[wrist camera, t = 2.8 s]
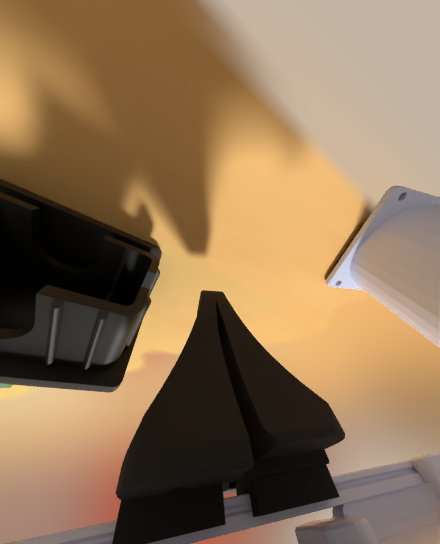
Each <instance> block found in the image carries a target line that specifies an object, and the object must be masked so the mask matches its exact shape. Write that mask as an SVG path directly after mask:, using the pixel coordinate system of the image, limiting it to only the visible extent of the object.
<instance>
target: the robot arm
mask: <svg viewBox="0 0 440 544" xmlns="http://www.w3.org/2000/svg"><path fill="white" fill-rule="evenodd" d="M326 284H327V285H328V286H329V287H337V288H347V289H357V290H364V291H366V292H367V293H368V294H370V295H371V296H372V297H374V298H375V299H376V300H378V301H379V302H380V303H381V304H383V305H384V306H385V307H387V308H388V309H389V310H391V311H392V312H393V313H395V314H396V315H397V316H399V317H400V318H401V319H402V320H404V321H405V322H406V323H408V324H409V325H410V326H412V327H413V328H414V329H415V330H417V331H418V332H419V333H421V334H422V335H423V336H425V337H426V338H427V339H429V340H430V341H431V342H433V343H434V344H435V345H436V346H438V347H439V348H440V197H436V196H433V195H429V194H426V193H422V192H419V191H416V190H412V189H409V188H405V187H402V186H393V187H391V188H390V189H388V190H387V191H386V193H385V194H384V195H383V197H382V198H381V200H380V201H379V203H378V204H377V206H376V207H375V209H374V210H373V212H372V213H371V215H370V216H369V218H368V219H367V221H366V222H365V223H364V225H363V226H362V228H361V229H360V231H359V232H358V234H357V235H356V237H355V238H354V240H353V241H352V243H351V244H350V246H349V247H348V249H347V250H346V251H345V253H344V254H343V256H342V257H341V259H340V260H339V262H338V263H337V265H336V266H335V268H334V269H333V271H332V272H331V274H330V275H329V277H328V278H327V279H326ZM344 438H345V433H344V431H343V429H342V427H341V425H340V424H339V422H338V420H337V418H336V416H335V415H334V413H333V411H332V409H331V408H330V406H329V404H328V403H327V402H326V401H324V400H323V399H322V398H321V397H319V396H318V395H317V394H315V393H314V392H313V391H312V390H310V389H309V388H308V387H306V386H305V385H304V384H303V383H301V382H300V381H299V380H298V379H297V378H295V377H294V376H293V375H292V374H291V373H290V372H288V371H287V370H286V369H285V368H284V367H283V366H282V365H281V364H280V363H278V361H276V359H275V358H273V357H272V356H271V355H270V354H269V353H268V352H267V351H266V350H265V349H264V347H263V346H262V345H261V344H260V343H259V342H258V341H257V340H256V339H255V337H254V336H253V335H252V334H251V333H250V331H249V330H248V329H247V327H246V326H245V325H244V323H243V322H242V321H241V319H240V318H239V316H238V315H237V314H236V312H235V311H234V309H233V308H232V306H231V304H230V303H229V301H228V300H227V298H226V296H225V295H224V293H223V292H218V291H204V290H203V291H201V295H200V300H199V306H198V311H197V318H196V320H195V323H194V326H193V328H192V331H191V333H190V335H189V338H188V340H187V342H186V344H185V346H184V348H183V350H182V352H181V354H180V356H179V358H178V360H177V362H176V364H175V366H174V368H173V369H172V371H171V373H170V375H169V376H168V378H167V379H166V381H165V383H164V385H163V386H162V388H161V390H160V391H159V393H158V394H157V396H156V397H155V399H154V401H153V402H152V404H151V405H150V407H149V409H148V410H147V411H146V413H145V415H144V416H143V419H142V421H141V423H140V425H139V427H138V429H137V431H136V433H135V436H134V438H133V440H132V442H131V444H130V446H129V448H128V450H127V453H126V455H125V459H124V461H123V464H122V467H121V472H120V476H119V481H118V485H117V490H116V495H117V497H118V498H119V499H121V504H120V509H119V513H118V518H117V521H113V522H108V523H103V524H98V525H93V526H88V527H84V528H79V529H74V530H69V531H64V532H59V533H54V534H50V535H45V536H40V537H35V538H30V539H25V540H21V541H15V542H11V543H6V544H190V543H194V542H198V541H201V540H205V539H209V538H213V537H217V536H221V535H225V534H229V533H233V532H236V531H240V530H245V529H248V528H252V527H256V526H260V525H264V524H268V523H271V522H276V521H280V520H284V519H288V518H292V517H296V516H299V515H303V514H307V513H311V512H315V511H319V510H322V509H327V508H331V507H333V517H332V519H324V520H316V521H311V522H308V523H305V524H303V525H300V526H298V527H296V530H295V532H296V536H297V540H298V543H299V544H440V452H437V453H433V454H428V455H423V456H420V457H416V458H412V459H411V460H409V461H404V462H399V463H395V464H389V465H384V466H380V467H375V468H370V469H365V470H360V471H355V472H351V473H346V474H341V475H336V476H331V475H330V473H329V470H328V468H327V466H326V464H328V463H329V459H328V457H327V455H326V452H325V450H324V449H326V448H328V447H330V446H332V445H334V444H337V443H339V442H340V441H342V440H343V439H344ZM231 492H237V496H234V497H230V498H224V499H223V494H226V493H231Z"/></svg>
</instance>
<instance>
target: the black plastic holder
mask: <svg viewBox="0 0 440 544" xmlns="http://www.w3.org/2000/svg"><path fill="white" fill-rule="evenodd" d="M161 253H162V252H161V250H160V248H158V247H157V246H155V245H153V244H151V243H148V242H146V241H144V240H141V239H139V238H137V237H134V236H132V235H130V234H127V233H125V232H123V231H120V230H118V229H116V228H113V227H111V226H109V225H106V224H104V223H102V222H99V221H97V220H95V219H92V218H90V217H88V216H85V215H83V214H81V213H78V212H76V211H74V210H71V209H69V208H67V207H64V206H62V205H60V204H57V203H55V202H53V201H50V200H48V199H46V198H44V197H41V196H39V195H37V194H34V193H32V192H30V191H27V190H25V189H23V188H20V187H18V186H16V185H13V184H11V183H9V182H6V181H4V180H2V179H0V383H1V384H13V385H25V386H37V387H50V388H61V389H74V390H87V391H98V392H113V391H115V390H116V389H117V388H118V387H119V385H120V383H121V382H122V380H123V377H124V374H125V371H126V368H127V365H128V362H129V359H130V356H131V353H132V350H133V347H134V344H135V341H136V338H137V335H138V332H139V329H140V326H141V323H142V320H143V317H144V315H145V313H146V311H147V309H148V307H149V305H150V303H151V299H150V297H149V296H150V293H151V291H152V289H153V287H154V285H155V283H156V281H157V279H158V277H159V275H160V271H159V269H158V266H159V260H160V258H161Z"/></svg>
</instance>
